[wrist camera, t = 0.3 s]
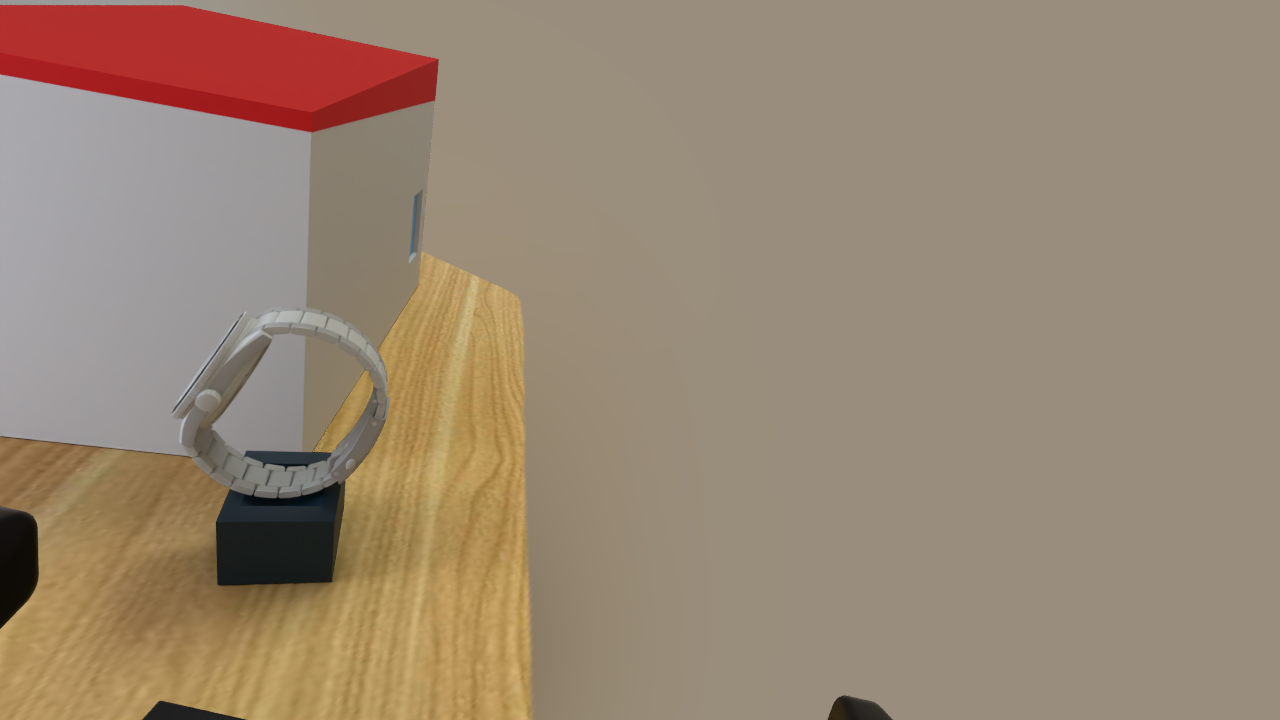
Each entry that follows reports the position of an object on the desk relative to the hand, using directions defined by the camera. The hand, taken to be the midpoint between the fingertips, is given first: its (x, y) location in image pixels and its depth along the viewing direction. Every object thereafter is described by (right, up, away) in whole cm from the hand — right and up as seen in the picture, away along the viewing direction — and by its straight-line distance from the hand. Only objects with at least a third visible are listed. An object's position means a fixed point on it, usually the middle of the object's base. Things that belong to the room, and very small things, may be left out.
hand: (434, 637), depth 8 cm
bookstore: (-28, +5, +44) cm, 52 cm away
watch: (-14, -5, +24) cm, 28 cm away
